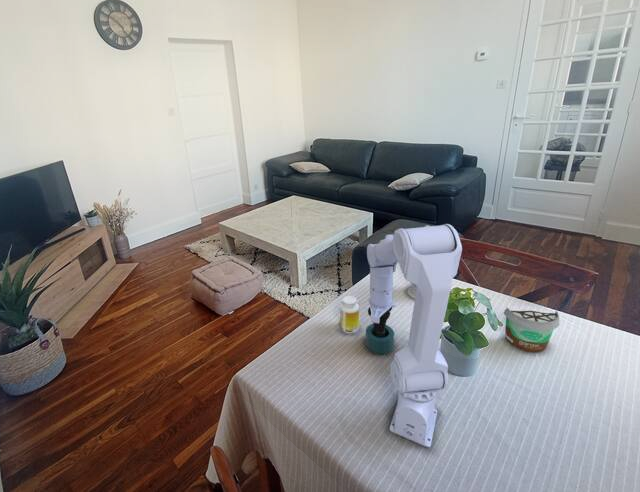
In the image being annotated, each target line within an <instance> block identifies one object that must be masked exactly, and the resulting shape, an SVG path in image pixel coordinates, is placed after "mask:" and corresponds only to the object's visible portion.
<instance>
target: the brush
mask: <svg viewBox="0 0 640 492" xmlns="http://www.w3.org/2000/svg"><path fill="white" fill-rule="evenodd" d="M375 337H379V338H384V337H385V330H384V331H383V333H381V332H377V331H375Z"/></svg>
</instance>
